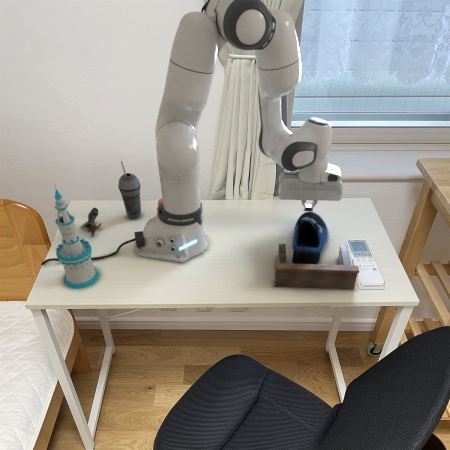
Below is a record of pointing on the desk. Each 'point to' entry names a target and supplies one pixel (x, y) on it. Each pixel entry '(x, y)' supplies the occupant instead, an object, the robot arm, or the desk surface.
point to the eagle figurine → (91, 221)
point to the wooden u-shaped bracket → (316, 273)
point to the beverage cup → (130, 194)
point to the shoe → (309, 239)
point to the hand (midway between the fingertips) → (308, 210)
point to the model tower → (73, 250)
